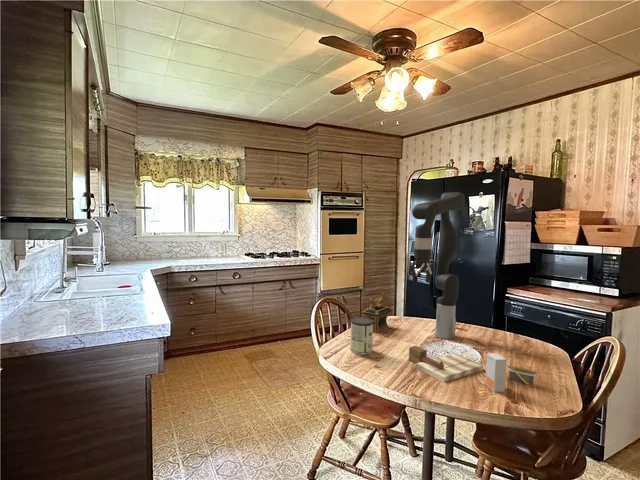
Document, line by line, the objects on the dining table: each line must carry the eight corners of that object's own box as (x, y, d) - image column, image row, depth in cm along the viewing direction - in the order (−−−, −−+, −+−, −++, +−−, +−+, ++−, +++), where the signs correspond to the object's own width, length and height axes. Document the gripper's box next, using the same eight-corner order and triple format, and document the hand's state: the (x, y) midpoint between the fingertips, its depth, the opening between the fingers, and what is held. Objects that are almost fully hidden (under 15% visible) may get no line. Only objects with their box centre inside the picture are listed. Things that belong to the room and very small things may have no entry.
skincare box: (484, 384, 132) (486, 352, 132) (495, 384, 133) (497, 352, 132) (493, 392, 126) (495, 359, 125) (505, 392, 127) (507, 359, 126)
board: (454, 357, 157) (454, 353, 157) (483, 369, 145) (483, 364, 145) (415, 368, 145) (416, 363, 145) (443, 382, 133) (444, 376, 133)
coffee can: (352, 345, 169) (353, 316, 169) (374, 348, 166) (375, 318, 165) (347, 352, 160) (348, 321, 159) (370, 356, 156) (371, 324, 156)
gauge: (414, 358, 155) (414, 345, 155) (445, 373, 141) (446, 358, 141) (407, 360, 153) (408, 346, 153) (438, 375, 139) (439, 360, 138)
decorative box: (377, 333, 187) (378, 297, 186) (361, 329, 193) (362, 294, 192) (394, 325, 203) (396, 291, 202) (379, 322, 209) (381, 289, 208)
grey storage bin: (549, 396, 125) (551, 378, 125) (493, 383, 134) (494, 366, 134) (548, 383, 135) (549, 367, 135) (496, 372, 145) (497, 356, 144)
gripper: (427, 246, 169) (425, 280, 170) (405, 247, 161) (404, 283, 162) (440, 248, 162) (438, 283, 163) (418, 249, 155) (416, 285, 156)
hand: (421, 283), depth 163 cm, fingers open, 8 cm apart
